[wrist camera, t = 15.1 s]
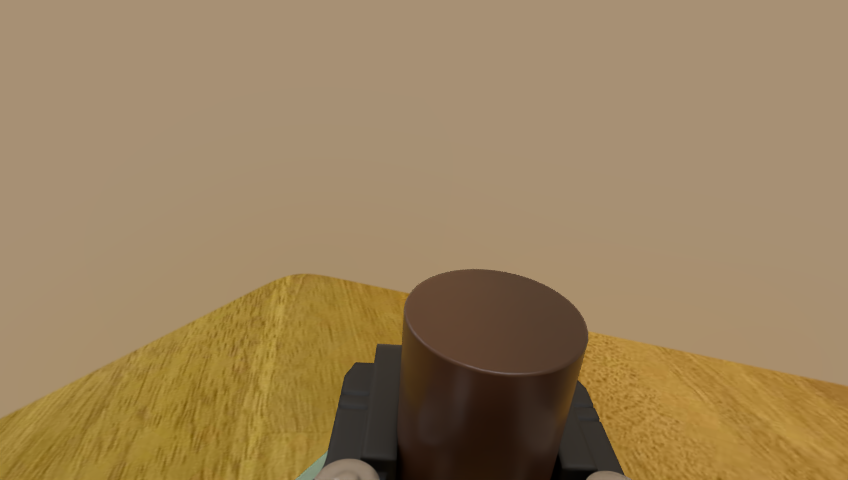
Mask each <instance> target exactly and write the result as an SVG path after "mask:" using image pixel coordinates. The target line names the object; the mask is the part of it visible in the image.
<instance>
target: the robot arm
mask: <svg viewBox="0 0 848 480" xmlns="http://www.w3.org/2000/svg"><path fill="white" fill-rule="evenodd" d="M401 352H402V345H390V344H377V348H376V355H375V361H374V363H358V362H356V363H355V364H354V365H353V366H352V368H351V369H350V370H349V371H348V372H347V374H346V375H345V377H344V381H343V386H342V390H341V395H340V399H339V403H338V408H337V412H336V417H335V421H334V426H333V430H332V434H331V439H330V443H329V448H328V452H327V457H326V460H325V463H324V465H323V467H322V469H321V471H320V472H319V473H318V474H317V475H316V477H315V478H314V479H313V480H396V464H397V447H398V437H397V421H398V404H399V387H400V369H401ZM551 480H631V479H630V478H628V477H626V476H625V475H624V473H623V471H622V468H621V466H620V464H619V462H618V459H617V457H616V455H615V453H614V450H613V448H612V446H611V444H610V441H609V439H608V437H607V435H606V432H605V430H604V428H603V426H602V423H601V422H599V417H598V414H597V412H596V410H595V408H593V403H592V401H591V399H590V396H589V394H588V392H587V390H586V388H585V387H584V386H583V385H582V384H581V383H580V382H579V381H578V380H577V384H576V387H575V391H574V395H573V398H572V402H571V406H570V410H569V413H568V417H567V421H566V424H565V428H564V432H563V435H562V439H561V443H560V446H559V450H558V454H557V458H556V461H555V465H554V469H553V472H552V476H551Z"/></svg>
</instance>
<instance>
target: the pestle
mask: <svg viewBox="0 0 848 480" xmlns="http://www.w3.org/2000/svg"><path fill="white" fill-rule="evenodd" d="M587 343H588V330H587V326H586V323H585V321H584V318H583V317H582V315H581V314H580V312H579V311H578V310H577V308H575V306H574V305H573V304H572V303H571V302H570V301H569V300H567V299H566V298H565V297H563V296H562V295H561V294H559V293H558V292H556V291H555V290H553V289H551V288H549V287H547V286H545V285H543V284H541V283H539V282H537V281H534V280H532V279H529V278H526V277H523V276H519V275H516V274H511V273H507V272H501V271H495V270H483V269H467V270H456V271H450V272H446V273H442V274H438V275H436V276H433V277H430V278H429V279H427V280H425V281H423V282H422V283H420V284H419V285H417V286H416V287H415V288H414V289H413V290H412V292H411V293H410V294H409V296H408V298H407V300H406V302H405V307H404V317H403V335H402V352H401V369H400V387H399V404H398V421H397V437H398V447H397V464H396V480H551V476H552V472H553V469H554V465H555V461H556V458H557V454H558V450H559V446H560V443H561V439H562V435H563V432H564V428H565V424H566V421H567V417H568V413H569V410H570V406H571V402H572V398H573V395H574V391H575V387H576V384H577V380H578V376H579V373H580V369H581V365H582V362H583V358H584V354H585V350H586V347H587Z"/></svg>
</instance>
